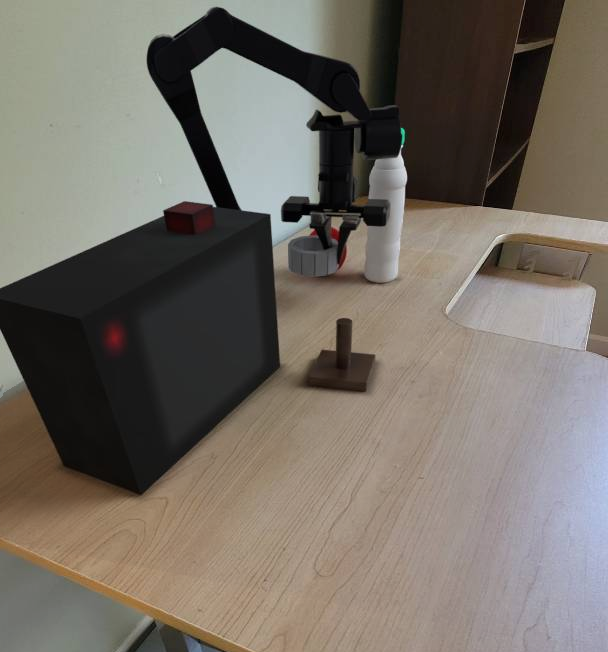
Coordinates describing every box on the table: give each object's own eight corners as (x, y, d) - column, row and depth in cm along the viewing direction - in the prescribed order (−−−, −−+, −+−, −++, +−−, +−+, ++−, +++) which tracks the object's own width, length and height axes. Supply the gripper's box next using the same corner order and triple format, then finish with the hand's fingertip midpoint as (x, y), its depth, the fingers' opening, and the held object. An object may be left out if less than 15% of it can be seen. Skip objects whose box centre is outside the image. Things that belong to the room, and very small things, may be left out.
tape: (283, 274, 96) (282, 250, 93) (295, 256, 102) (295, 233, 99) (332, 278, 95) (333, 255, 92) (342, 260, 101) (343, 237, 98)
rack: (308, 385, 80) (307, 332, 74) (321, 357, 86) (321, 306, 80) (365, 391, 78) (369, 337, 72) (375, 363, 84) (379, 310, 78)
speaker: (51, 461, 69) (-42, 269, 51) (203, 348, 90) (174, 184, 72) (141, 495, 64) (72, 294, 46) (280, 366, 84) (269, 194, 67)
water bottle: (359, 281, 108) (366, 131, 90) (369, 269, 112) (378, 124, 94) (392, 285, 106) (406, 132, 88) (401, 273, 110) (416, 125, 92)
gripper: (398, 153, 89) (390, 251, 101) (294, 151, 93) (297, 246, 104) (389, 168, 82) (381, 272, 93) (277, 165, 86) (282, 266, 97)
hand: (334, 263), depth 97 cm, fingers closed on tape
